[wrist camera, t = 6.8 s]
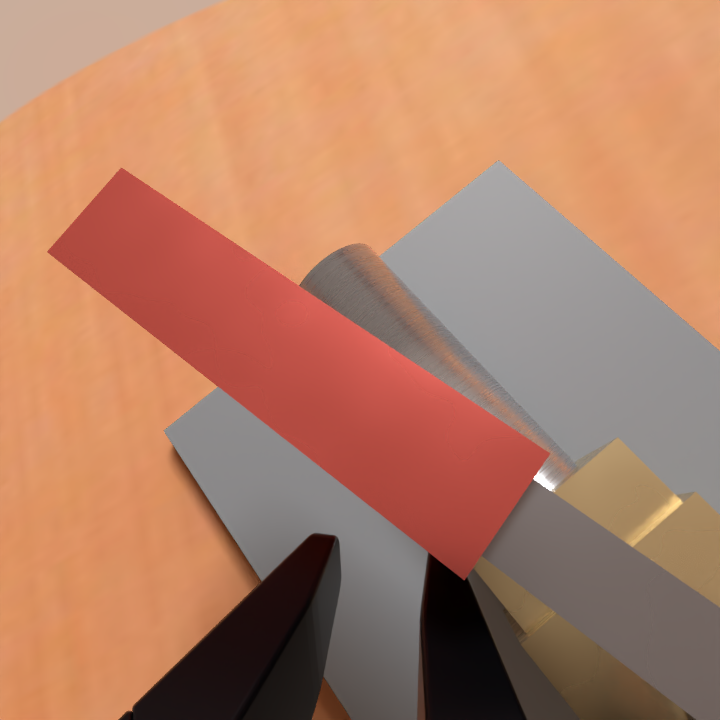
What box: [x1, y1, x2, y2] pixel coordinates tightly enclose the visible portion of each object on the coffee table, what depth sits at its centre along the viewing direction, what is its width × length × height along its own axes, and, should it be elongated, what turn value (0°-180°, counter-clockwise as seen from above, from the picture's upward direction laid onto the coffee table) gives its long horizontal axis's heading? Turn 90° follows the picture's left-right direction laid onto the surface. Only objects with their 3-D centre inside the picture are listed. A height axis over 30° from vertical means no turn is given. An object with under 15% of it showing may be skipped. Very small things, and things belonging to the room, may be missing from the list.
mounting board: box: [164, 160, 720, 720], centre depth 14 cm, size 26×14×1 cm, turn 39°
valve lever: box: [47, 168, 720, 720], centre depth 7 cm, size 13×3×3 cm, turn 53°
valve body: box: [299, 244, 720, 720], centre depth 11 cm, size 25×4×6 cm, turn 39°
